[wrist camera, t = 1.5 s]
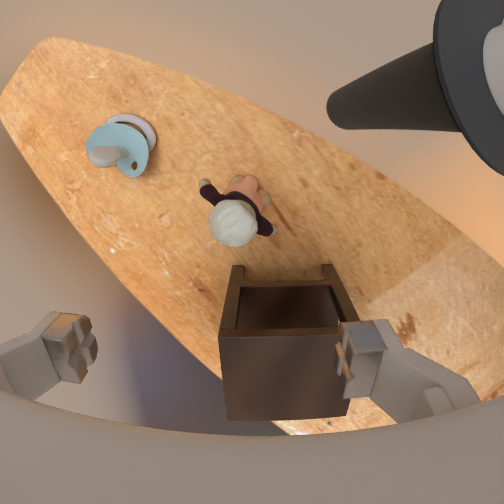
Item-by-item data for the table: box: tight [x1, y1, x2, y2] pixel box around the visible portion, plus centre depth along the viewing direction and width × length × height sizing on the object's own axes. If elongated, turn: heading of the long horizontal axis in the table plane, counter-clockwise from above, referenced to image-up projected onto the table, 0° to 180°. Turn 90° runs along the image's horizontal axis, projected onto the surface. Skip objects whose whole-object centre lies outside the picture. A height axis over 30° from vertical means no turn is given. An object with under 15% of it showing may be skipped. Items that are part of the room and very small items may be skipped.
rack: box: [218, 264, 360, 421], centre depth 30 cm, size 11×10×13 cm
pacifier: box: [86, 114, 156, 177], centre depth 27 cm, size 7×6×6 cm
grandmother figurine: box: [199, 175, 277, 247], centre depth 26 cm, size 8×4×13 cm, turn 66°
